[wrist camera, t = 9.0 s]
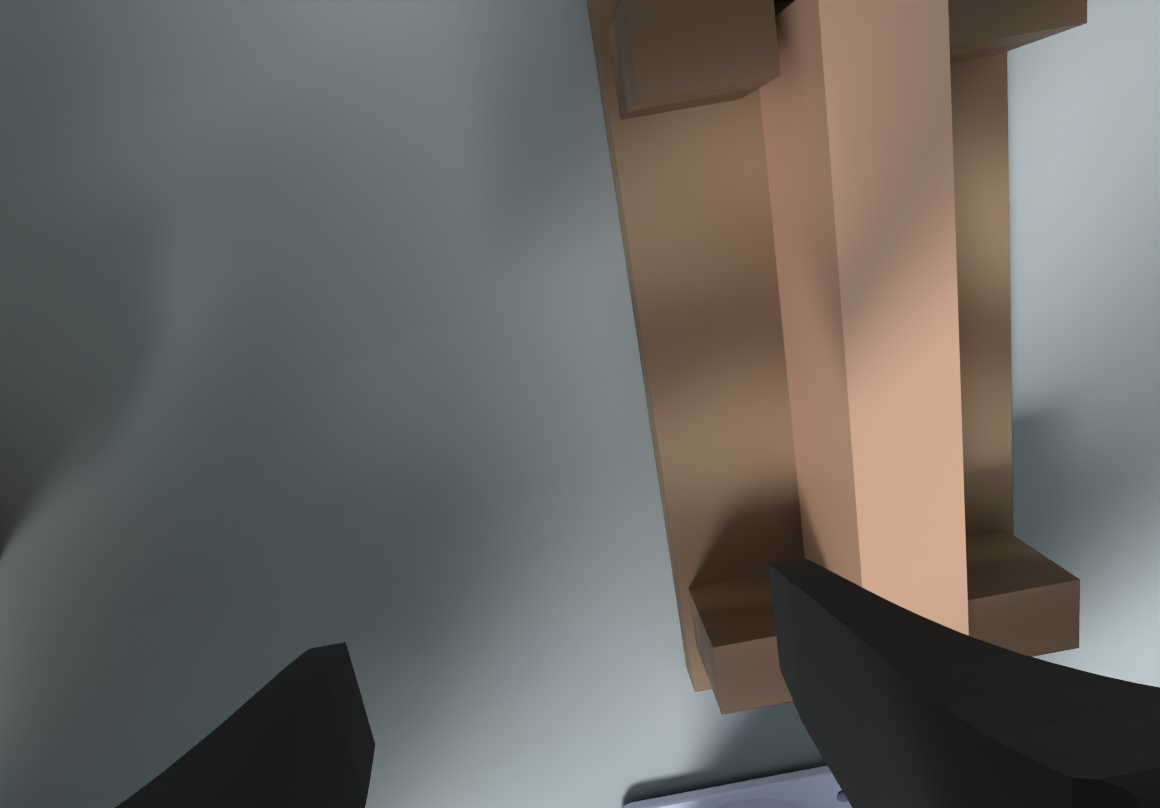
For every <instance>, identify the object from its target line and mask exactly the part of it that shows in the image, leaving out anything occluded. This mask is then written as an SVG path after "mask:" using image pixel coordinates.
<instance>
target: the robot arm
mask: <svg viewBox="0 0 1160 808" xmlns="http://www.w3.org/2000/svg"><path fill="white" fill-rule="evenodd" d="M768 566H769V575H770V584H771V593H772V602H773V611H774V620H775V629H776V638H777V647H778V656H779V665H780V670H781V673H782V675H783V678H784V680H785V683H786V685H787V687H788V690H789V692H790V695H791V697H792V699H793V702H794V704H795V706H796V709H797V711H798V713H799V715H800V718H801V720H802V722H803V724H804V726H805V728H806V729H807V731H808V733H809V735H810V736H811V738H812V740H813V741H814V743H815V745H816V747H817V748H818V750H819V752H820V754H821V755H822V757H823V759H824V760H825V762H826V764H827V766H822V767H817V768H811V769H806V770H801V771H796V772H790V773H785V774H780V775H774V776H769V777H764V778H759V779H753V780H748V781H743V782H737V783H732V784H727V785H722V786H716V787H711V788H706V789H700V790H695V791H690V792H684V793H679V794H674V795H669V796H663V797H658V798H653V799H647V800H642V801H637V802H632V803H629V804H626V805H625V806H624V807H623V808H1160V688H1159V687H1154V686H1148V685H1143V684H1137V683H1133V682H1128V681H1124V680H1119V679H1114V678H1110V677H1105V676H1101V675H1097V674H1093V673H1089V672H1085V671H1081V670H1077V669H1074V668H1070V667H1066V666H1062V665H1058V664H1054V663H1051V662H1047V661H1043V660H1040V659H1037V658H1033V657H1030V656H1027V655H1023V654H1020V653H1017V652H1014V651H1011V650H1008V649H1005V648H1002V647H1000V646H997V645H994V644H991V643H988V642H985V641H982V640H979V639H976V638H974V637H971V636H968V635H966V634H963V633H961V632H958V631H955V630H953V629H951V628H948V627H946V626H944V625H941V624H939V623H937V622H934V621H932V620H930V619H927V618H925V617H923V616H920V615H918V614H916V613H914V612H911V611H909V610H907V609H905V608H903V607H901V606H899V605H897V604H894V603H892V602H890V601H888V600H886V599H884V598H882V597H880V596H878V595H876V594H874V593H872V592H870V591H868V590H866V589H864V588H862V587H861V586H859V585H857V584H855V583H853V582H851V581H849V580H847V579H845V578H843V577H841V576H839V575H838V574H836V573H834V572H832V571H830V570H828V569H826V568H824V567H822V566H820V565H818V564H816V563H814V562H812V561H810V560H808V559H805V558H801V559H795V560H790V561H784V562H779V563H773V564H768ZM374 749H375V742H374V739H373V735H372V732H371V729H370V725H369V722H368V718H367V715H366V711H365V708H364V704H363V701H362V697H361V694H360V690H359V687H358V683H357V680H356V676H355V673H354V670H353V666H352V663H351V659H350V656H349V652H348V649H347V645H346V642H344V643H339V644H333V645H328V646H323V647H317V648H312V649H309V650H307V651H306V652H305V653H303V654H302V655H301V656H299V657H298V658H297V659H295V660H294V661H293V662H292V663H291V664H289V665H288V666H287V667H286V668H285V669H284V670H282V671H281V672H280V673H279V674H278V675H277V676H275V677H274V678H273V679H272V680H271V681H270V682H269V683H268V684H266V685H265V686H264V687H263V688H262V689H261V690H260V691H259V692H257V693H256V694H255V695H254V696H253V697H252V698H251V699H249V700H248V701H247V702H246V703H245V704H244V705H243V706H241V707H240V708H239V709H238V710H237V711H236V712H235V713H234V714H232V715H231V716H230V717H229V718H228V719H227V720H226V721H224V722H223V723H222V724H221V725H220V726H219V727H218V728H216V729H215V730H214V731H213V732H211V733H210V734H209V735H208V736H207V737H205V738H204V739H203V740H202V741H201V742H199V743H198V744H197V745H196V746H194V747H193V748H192V749H191V750H190V751H188V752H187V753H186V754H185V755H183V756H182V757H181V758H180V759H179V760H177V761H176V762H175V763H174V764H172V765H171V766H170V767H169V768H168V769H166V770H165V771H164V772H163V773H161V774H160V775H159V776H157V777H156V778H155V779H154V780H152V781H151V782H150V783H148V784H147V785H146V786H144V787H143V788H142V789H140V790H139V791H138V792H136V793H135V794H134V795H132V796H131V797H129V798H128V799H127V800H125V801H124V802H122V803H121V804H120V805H118V806H117V807H115V808H365V805H366V799H367V794H368V788H369V782H370V776H371V770H372V763H373V756H374ZM841 790H842V791H843V792H842V793H838V792H839V791H841Z"/></svg>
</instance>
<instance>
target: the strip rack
mask: <svg viewBox="0 0 1160 808" xmlns="http://www.w3.org/2000/svg"><path fill="white" fill-rule="evenodd" d="M794 1H795V0H587V4H588V11H589V18H590V24H591V31H592V38H593V44H594V51H595V58H596V64H597V71H598V78H599V84H600V91H601V98H602V104H603V111H604V118H605V124H606V131H607V138H608V145H609V151H610V158H611V165H612V171H613V178H614V185H615V191H616V198H617V205H618V211H619V218H620V225H621V231H622V238H623V245H624V251H625V258H626V265H627V271H628V278H629V285H630V292H631V298H632V305H633V312H634V318H635V325H636V332H637V338H638V345H639V352H640V358H641V365H642V372H643V378H644V385H645V392H646V398H647V405H648V412H649V418H650V425H651V432H652V438H653V445H654V452H655V459H656V465H657V472H658V479H659V485H660V492H661V499H662V505H663V512H664V519H665V525H666V532H667V539H668V545H669V552H670V559H671V565H672V572H673V579H674V585H675V592H676V599H677V605H678V612H679V619H680V626H681V632H682V639H683V646H684V652H685V659H686V666H687V670H688V673H689V676H690V679H691V682H692V685H693V688H694V691H695V692H697V691H702V690H708V689H713V692H714V694H715V697H716V700H717V702H718V705H719V708H720V710H721V713H722V715H723V714H728V713H733V712H739V711H744V710H749V709H755V708H760V707H765V706H771V705H776V704H781V703H787V702H792V701H793V699H792V697H791V695H790V692H789V690H788V687H787V685H786V683H785V680H784V678H783V675H782V673H781V670H780V665H779V656H778V647H777V638H776V629H775V620H774V611H773V602H772V593H771V584H770V575H769V566H768V564H773V563H779V562H784V561H790V560H795V559H801V558H805V555H804V545H803V534H802V524H801V514H800V503H799V493H798V483H797V472H796V462H795V452H794V441H793V431H792V421H791V410H790V400H789V390H788V379H787V369H786V359H785V348H784V338H783V328H782V317H781V307H780V297H779V286H778V276H777V266H776V255H775V245H774V235H773V224H772V214H771V204H770V193H769V183H768V173H767V162H766V152H765V142H764V131H763V121H762V111H761V100H760V90H759V88H760V87H762V86H764V85H766V84H767V83H769V82H771V81H772V80H774V79H776V78H778V77H779V76H780V65H779V54H778V42H777V31H776V20H775V17H776V16H777V15H778V14H779V13H780V12H782V11H783V10H784V9H785V8H786V7H788V6H789V5H790V4H791V3H792V2H794ZM948 13H949V44H950V75H951V105H952V136H953V166H954V197H955V228H956V258H957V289H958V320H959V350H960V381H961V411H962V442H963V473H964V503H965V534H966V565H967V595H968V626H969V636H971V637H974V638H976V639H979V640H982V641H985V642H988V643H991V644H994V645H997V646H1000V647H1002V648H1005V649H1008V650H1011V651H1014V652H1017V653H1020V654H1023V655H1027V656H1030V657H1032V656H1038V655H1043V654H1048V653H1054V652H1059V651H1064V650H1070V649H1075V648H1079V601H1080V579H1078V578H1077V577H1075V576H1074V575H1072V574H1071V573H1069V572H1067V571H1066V570H1064V569H1063V568H1061V567H1060V566H1058V565H1057V564H1055V563H1054V562H1052V561H1051V560H1049V559H1048V558H1046V557H1045V556H1043V555H1042V554H1040V553H1039V552H1037V551H1036V550H1034V549H1033V548H1031V547H1030V546H1028V545H1027V544H1025V543H1024V542H1022V541H1021V540H1019V539H1018V538H1016V537H1015V536H1013V468H1012V394H1011V320H1010V246H1009V172H1008V98H1007V51H1009V50H1012V49H1015V48H1018V47H1020V46H1023V45H1026V44H1029V43H1032V42H1035V41H1037V40H1040V39H1043V38H1046V37H1049V36H1051V35H1054V34H1057V33H1060V32H1063V31H1066V30H1068V29H1071V28H1074V27H1077V26H1080V25H1082V24H1085V23H1087V0H948Z"/></svg>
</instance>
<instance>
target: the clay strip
mask: <svg viewBox="0 0 1160 808" xmlns="http://www.w3.org/2000/svg"><path fill="white" fill-rule="evenodd" d="M775 20H776V31H777V42H778V54H779V65H780V76H779V77H778V78H776V79H774V80H772V81H771V82H769V83H767V84H766V85H764V86H762V87H760V88H759V90H760V100H761V111H762V121H763V131H764V142H765V152H766V162H767V173H768V183H769V193H770V204H771V214H772V224H773V235H774V245H775V255H776V266H777V276H778V286H779V297H780V307H781V317H782V328H783V338H784V348H785V359H786V369H787V379H788V390H789V400H790V410H791V421H792V431H793V441H794V452H795V462H796V472H797V483H798V493H799V503H800V514H801V524H802V534H803V545H804V555H805V559H808V560H810V561H812V562H814V563H816V564H818V565H820V566H822V567H824V568H826V569H828V570H830V571H832V572H834V573H836V574H838V575H839V576H841V577H843V578H845V579H847V580H849V581H851V582H853V583H855V584H857V585H859V586H861V587H862V588H864V589H866V590H868V591H870V592H872V593H874V594H876V595H878V596H880V597H882V598H884V599H886V600H888V601H890V602H892V603H894V604H897V605H899V606H901V607H903V608H905V609H907V610H909V611H911V612H914V613H916V614H918V615H920V616H923V617H925V618H927V619H930V620H932V621H934V622H937V623H939V624H941V625H944V626H946V627H948V628H951V629H953V630H955V631H958V632H961V633H963V634H966V635H968V636H969V626H968V595H967V565H966V534H965V503H964V473H963V442H962V411H961V381H960V350H959V320H958V289H957V258H956V228H955V197H954V166H953V136H952V105H951V75H950V44H949V13H948V0H795V1H794V2H792V3H791V4H790V5H789V6H788V7H786V8H785V9H784V10H783V11H782V12H780V13H779V14H778V15H777V16H776V17H775Z"/></svg>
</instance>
